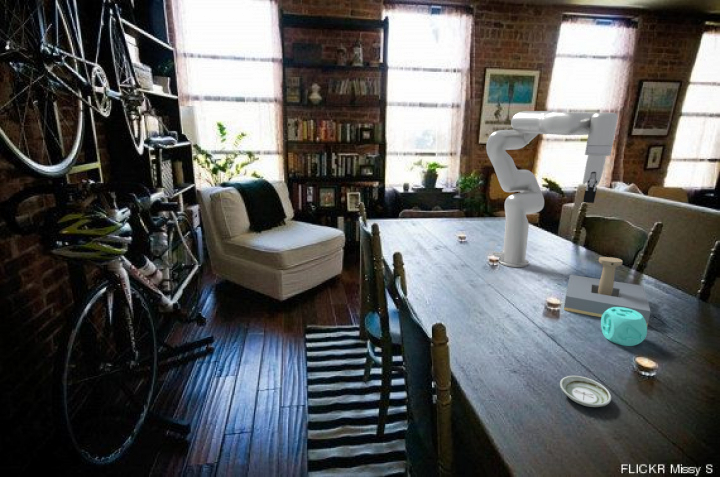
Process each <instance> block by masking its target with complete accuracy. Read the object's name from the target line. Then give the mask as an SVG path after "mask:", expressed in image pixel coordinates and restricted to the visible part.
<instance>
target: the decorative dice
mask: <svg viewBox="0 0 720 477" xmlns="http://www.w3.org/2000/svg"><path fill="white" fill-rule="evenodd" d="M600 329H601V332H602V334H603V337H605V339H607V340H608V341H610V343H613V344H615V345H620V346H624V347H625V346H626V347H634V346H637V345H639V344H641V343H642V342H644V341H645V339H646V337H647V334H648V326H647V324H646V321H645V319H644V317H643V316H642V315H641V314H640V313H639V312H637V311H635V310H632V309H628V308H623V307H612V308H609V309H608V310H606V311H605V312H604V313H603V315H602V317H600Z"/></svg>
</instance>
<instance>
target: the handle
mask: <svg viewBox="0 0 720 477" xmlns="http://www.w3.org/2000/svg"><path fill="white" fill-rule="evenodd" d="M598 262H599V264H601V265H602V271H601V276H600V283H599V288H598V294H602V295H608V296H611V295H612V291H613V285H614V281H615V275H616V274H615V273H616V268H617V267H621V266H622V265H623V260H622V259H621V258H619V257H618V258H617V257H611V256H610V257H609V256H608V257H607V256H600V257H598Z"/></svg>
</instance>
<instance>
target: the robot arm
mask: <svg viewBox="0 0 720 477" xmlns="http://www.w3.org/2000/svg"><path fill="white" fill-rule="evenodd" d="M618 119H619V118H618V114H617V113H616V112H597V113H593V112H553V111H551V110H540V111H539V110H524V111H519V112H517V113H515V114H514V115H513V116H512V118H511V120H510V125H511V128H512V129H499V130H496V131H494V132H492V133H491V134H490V135H489V137H488V139H487V140H486V153H487V158H488V159H489V161H490V162H491V165H492V166H493V168H494V172H495V174H496V176H497V180H498V182H499V185H500V187H501V189H502V190H503V192H505V193H513V194H510V195H509V196H507V197H506V199H505V201H504V214H505V222H504V223H505V224H504V236H503V248H502V249H503V250H502V251H496V250H493V252H492V256H494V257H496V258H499V259H498V263H499V262H500V265H503V266H506V267H511V268H524V267H525V268H526V267H527V266H529V264H530V263H529V260H528V259H526V256H527V246H528V237H529V236H528V235H529V226H530V224H529V220H528V218H527V215H531V214H535V213H539V212H541V211H542V210H543V209H544V207H545V199H544V198H545V197H544V195H543V193H542V189H541V187H540V185H539V183H538V179H537V178H536V175H535V174H534V173H533V172H532V171H530V170H528V169H518V168H517V167H516V164H515V162H514V161H515V160H514V159H513V157H512V156H511V155H510V154H508V152H507V150H508V151H510V150H511V151H512V150H520V149H523V148H524V147H525V146H527V145H528V144H529V143H530V142H531V141H532V140H533V139H534V138H536V137H537V136H538V135H560V136H587V139H586V140H587V141H586V146H585V152H584V155H585V156H587V159H586V163H585V169H584V175H583V178H582V185H585V184H586V188H585V190H584V194H583V201H582V202H583V203H587V204H594V203H595V200H596V194H597V189H598V187H597V186H598V185H599V184H600V182H601V179H602V176H603V174H604V173H603V171H604V168H605V163H606V160H607V159H606V158H607V157H610V156H611V154H612V149H613V144H614V138H615V134H616V129H617V123H618ZM517 192H518V193H517Z"/></svg>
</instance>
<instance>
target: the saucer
mask: <svg viewBox="0 0 720 477" xmlns="http://www.w3.org/2000/svg"><path fill="white" fill-rule="evenodd" d="M559 387H560V389H561V391H562V393H564V395H566V396H567V397H568V398H569V399H570V400H572V401H573V402H575V403H577V404H579V405H582V406H585V407H589V408H590V407H591V408H599V407H605V406H607V405H609V404H610V403H611V401H612V395H611V393H610V391H609V390H608V389H607V388H606V387H605V386H604V385H603V384H601V383H600V382H598V381H596V380H593V379H591V378H589V377H586V376H585V377H584V376H580V375H568V376H565V377H563V378H561V379H560V381H559Z"/></svg>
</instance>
